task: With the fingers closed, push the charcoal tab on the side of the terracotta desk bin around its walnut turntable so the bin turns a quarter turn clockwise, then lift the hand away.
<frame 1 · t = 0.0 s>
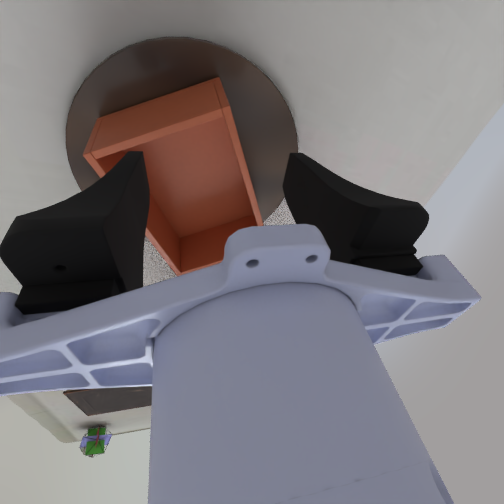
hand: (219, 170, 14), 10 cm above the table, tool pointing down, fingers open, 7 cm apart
hardcover book: (140, 383, 59), on the table
bin: (170, 200, 23), point 3 cm above the table, hinge at 0.0°
turntable: (192, 169, 25), on the table
geometric puzzle: (98, 425, 75), on the table
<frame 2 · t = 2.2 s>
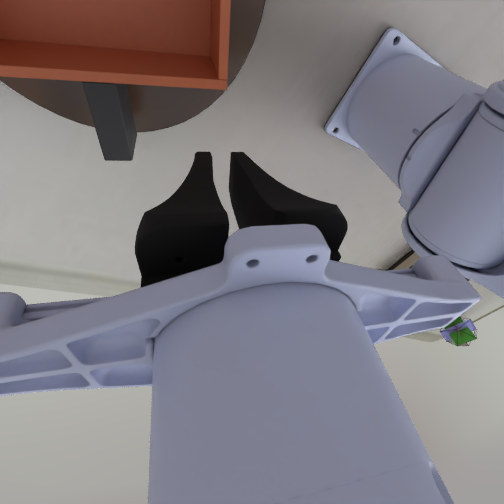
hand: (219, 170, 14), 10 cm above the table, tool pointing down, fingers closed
hardcover book: (439, 259, 46), on the table
bin: (95, 13, 14), point 3 cm above the table, hinge at 0.0°
geometric puzzle: (448, 317, 66), on the table
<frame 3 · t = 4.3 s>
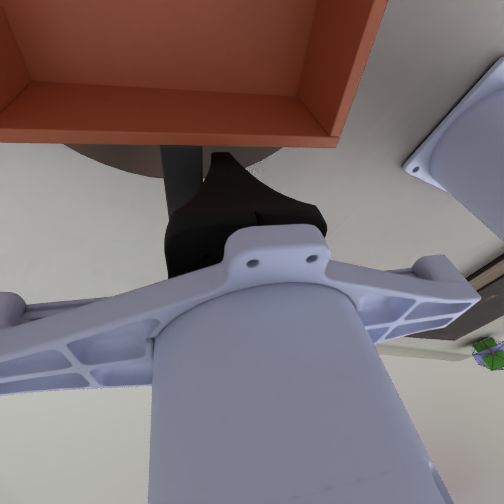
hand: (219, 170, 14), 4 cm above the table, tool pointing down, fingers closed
hardcover book: (486, 288, 42), on the table
bin: (176, 54, 11), point 3 cm above the table, hinge at -0.2°, touching gripper
geometric puzzle: (480, 339, 63), on the table
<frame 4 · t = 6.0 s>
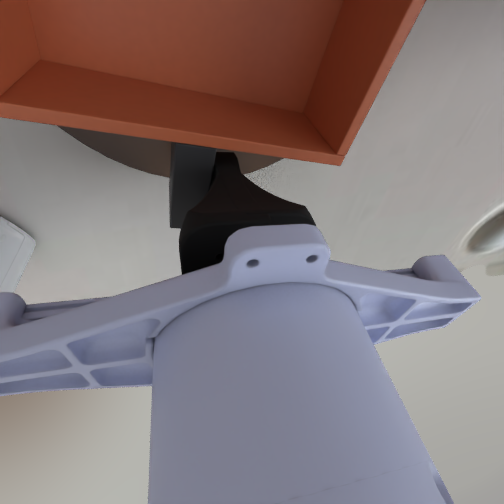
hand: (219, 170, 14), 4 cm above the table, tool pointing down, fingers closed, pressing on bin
bin: (199, 56, 11), point 3 cm above the table, hinge at -39.2°, touching gripper
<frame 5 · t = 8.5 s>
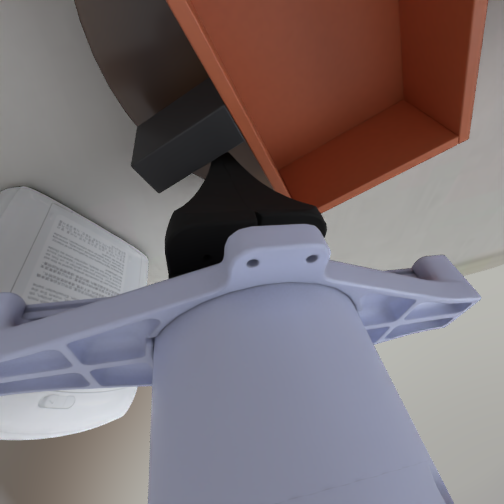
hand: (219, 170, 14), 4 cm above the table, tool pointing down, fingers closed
bin: (275, 67, 11), point 3 cm above the table, hinge at -95.8°, touching gripper
turntable: (296, 18, 13), on the table
photo printer: (80, 233, 20), on the table
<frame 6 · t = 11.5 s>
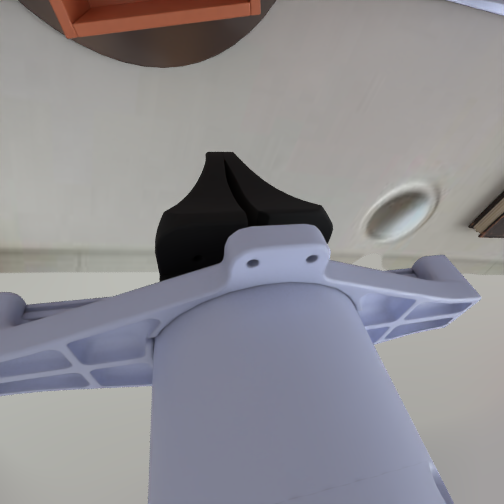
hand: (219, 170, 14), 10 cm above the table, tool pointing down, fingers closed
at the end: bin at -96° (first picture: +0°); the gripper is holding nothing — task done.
